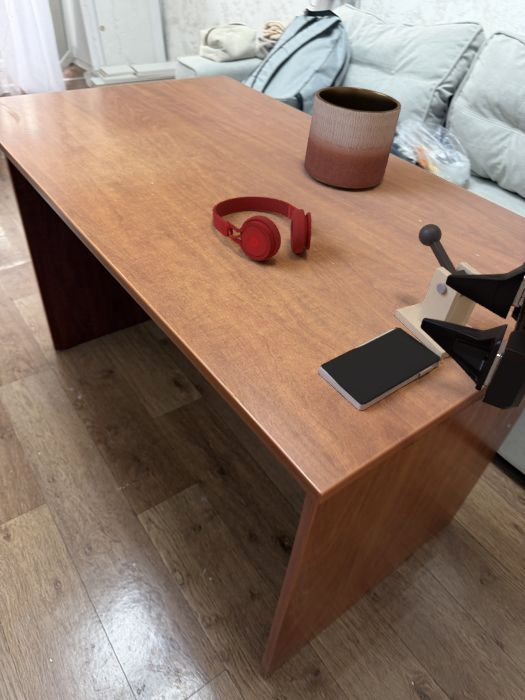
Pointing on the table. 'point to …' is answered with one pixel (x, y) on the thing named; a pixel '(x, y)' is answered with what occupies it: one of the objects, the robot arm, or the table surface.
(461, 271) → the switch lever
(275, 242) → the headphones
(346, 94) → the planter
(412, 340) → the smartphone
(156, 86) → the table surface
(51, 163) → the table surface
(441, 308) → the switch unit
